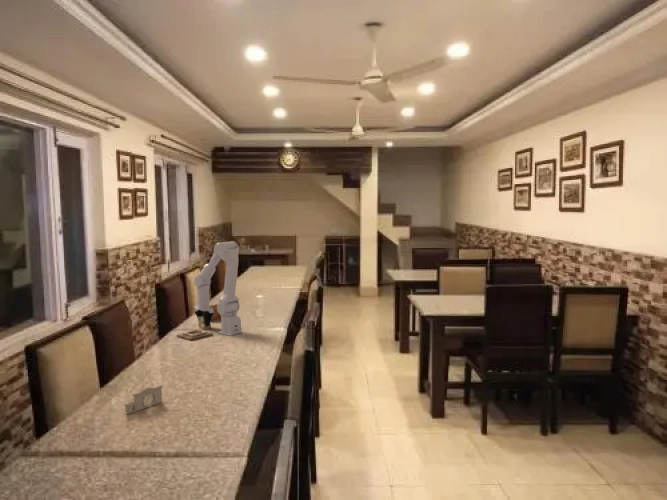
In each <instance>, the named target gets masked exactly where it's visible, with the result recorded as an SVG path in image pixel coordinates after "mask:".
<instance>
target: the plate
mask: <svg viewBox="0 0 667 500" xmlns="http://www.w3.org/2000/svg"><path fill="white" fill-rule="evenodd" d="M213 336H214V333H212V332H209V331H206V330H205V331H204V330H203V329H194V330H189V331H185V332H182V333H178V334H176V338H179V339H183V340H187V341H190V342H193V341H197V340H201V339H205V338H209V337H213Z"/></svg>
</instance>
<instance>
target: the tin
mask: <svg viewBox="0 0 667 500" xmlns="http://www.w3.org/2000/svg"><path fill="white" fill-rule="evenodd" d="M209 305H210V304H209ZM217 305H218V303H216V304H215V303H214V304H211V305H210V307H211V308H213V309H214V314H213V315H212V318H211V322H214V321H213V320H215V321H218V320H217V319H219V320H221V315H220V314H219V313H218V311H217Z"/></svg>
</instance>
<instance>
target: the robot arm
mask: <svg viewBox="0 0 667 500" xmlns="http://www.w3.org/2000/svg"><path fill="white" fill-rule="evenodd" d="M239 251H240V247H239V245H238V243H237V242H236V241H234V240H231V241H223V242H217V243H215V246H214V247H213V254H212V256H211V258H210V259H209V262H208V263H205V264H204V265H203V268H202V269H201V270H200V272H199V274H198V275H195V276H194V278H193V284H194V285H195V287H196V297H197V298H196V299H197V305H194V306H193V308H194V315H195V317H196V318H197V319H198V316H203V317H204V322H205V326H210V321H211V318H212V315H213V314H214V309H213V308H211V307H210V291H209V290H210V288H211V287H210V286H211V283H212V280H211V279H212V277H213V276H214V274H215V272H216V267H217V265H218V264H219V262H220V261H221V260H222V261H224V263H226V265H225V276H224V285H223V294H222V295H221V296H220V298H219V300H218V303H217V304H218V305H217V311H218V313H219V314H220V315H221V319H220V320H221V323H220V324H221V330H220V331H218V334H221V335H226V336H234V335H238V334H241V333H243V332H244V331H242V319H241V317H239V316H238V312H239V310H240V298H239V297H238V296H236V289H237V281H238V280H237V279H238V272H239V271H238V269H239V261H240V260H239ZM211 322H212V321H211Z"/></svg>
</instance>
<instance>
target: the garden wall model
mask: <svg viewBox="0 0 667 500" xmlns="http://www.w3.org/2000/svg"><path fill="white" fill-rule="evenodd" d="M162 389H163V386H162V385H158V386H156V387H146V388H144V389H143V390H141V391H140V392H138V393H134V394H132V397H133V401H131V402H129V403H124V404H123V406H124V408H125V414H126V415H129V414H133V413H135V412H138V411H142V410H144V409H146V408H151V407H152V406H154V405H158V404H160V403H163V395H162V394H163V393H162Z"/></svg>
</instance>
